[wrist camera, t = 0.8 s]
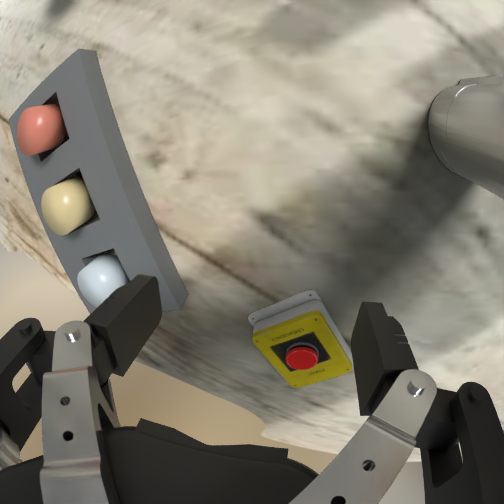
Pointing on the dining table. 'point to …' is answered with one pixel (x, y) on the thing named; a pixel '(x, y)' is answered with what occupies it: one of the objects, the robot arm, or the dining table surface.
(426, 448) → the robot arm
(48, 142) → the red button
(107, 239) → the control panel
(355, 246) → the dining table surface
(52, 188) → the ochre button
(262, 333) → the emergency button
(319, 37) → the dining table surface
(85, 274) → the blue button
